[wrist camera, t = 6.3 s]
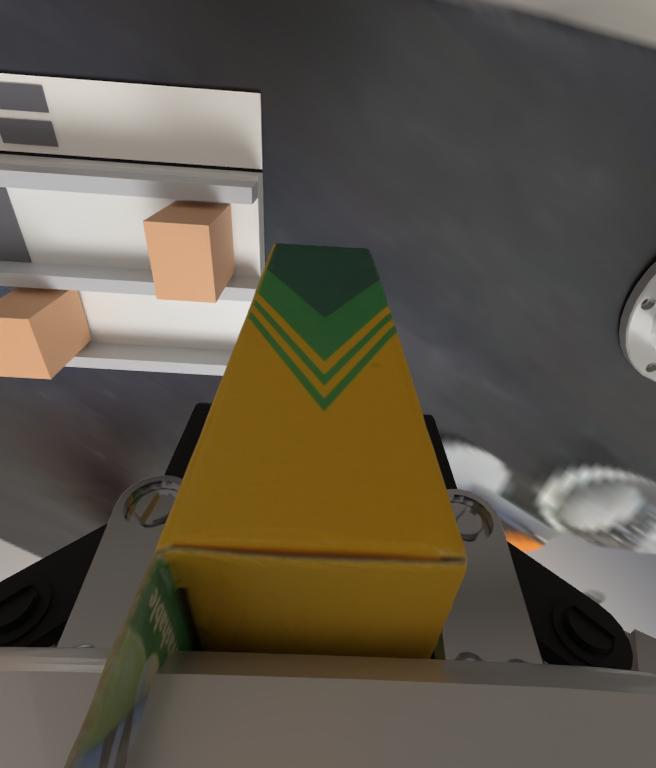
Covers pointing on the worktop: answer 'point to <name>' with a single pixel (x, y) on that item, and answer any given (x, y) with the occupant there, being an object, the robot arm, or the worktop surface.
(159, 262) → the tan rectangular block
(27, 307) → the light orange block
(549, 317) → the worktop surface
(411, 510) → the crayon box
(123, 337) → the white divided tray
